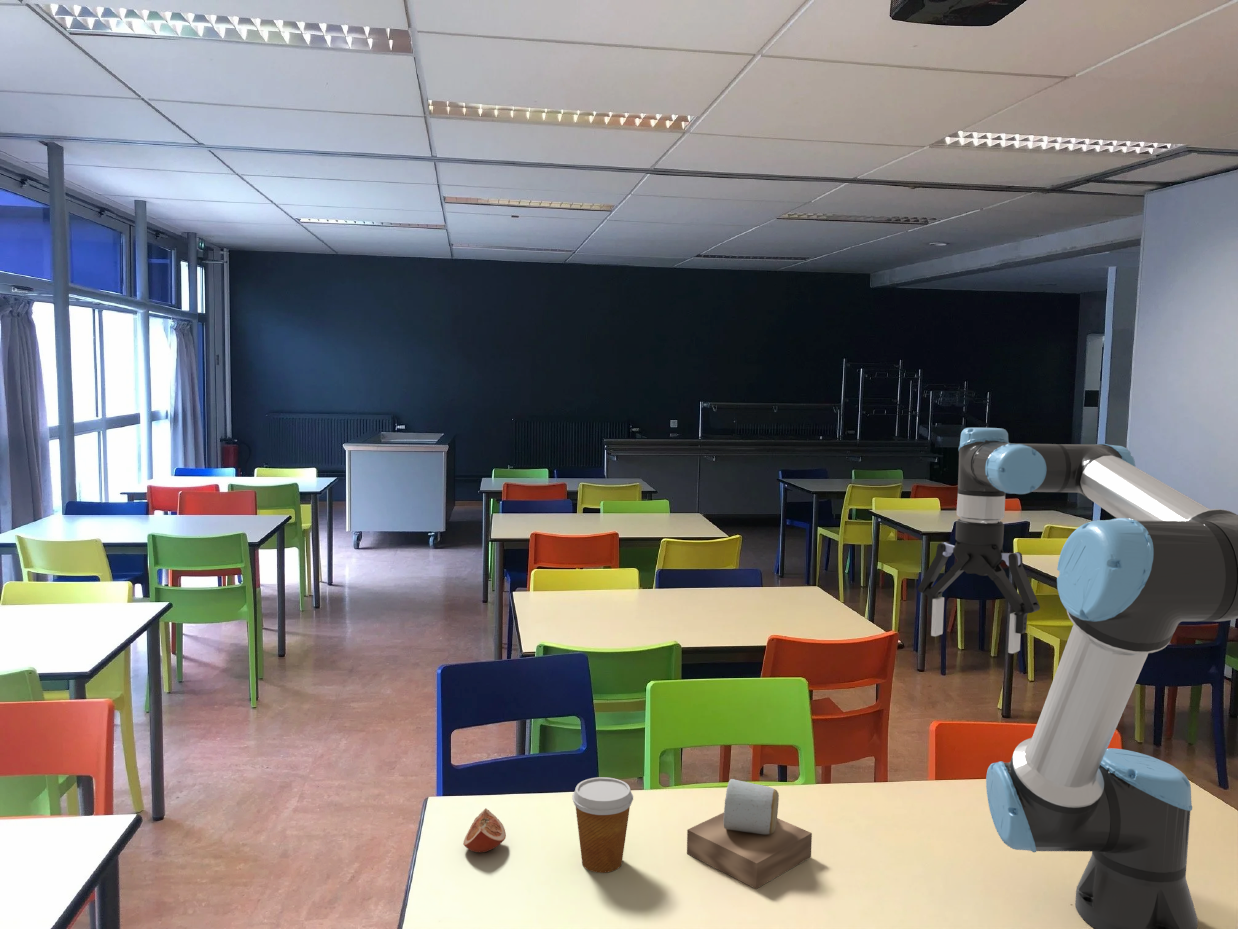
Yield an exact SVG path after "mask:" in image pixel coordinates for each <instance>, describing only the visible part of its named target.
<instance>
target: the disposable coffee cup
mask: <svg viewBox="0 0 1238 929" xmlns="http://www.w3.org/2000/svg"><path fill="white" fill-rule="evenodd" d="M571 798H572V802H573V803H574V806H575V813H576V821H577V830H578V831H577V832H578V837H579V838H578V839H579V840H578V841H579V847H580V857H581V864H582V866H583V867H584V868H585V869H586V870H587V871H590V872H594V873H600V874H601V873H603V874H604V873H610V872H611V873H612V872H614V871H616V870H619V869H620V868H621V866H622V864H623V859H624V858H623V857H624V852H625V842H626V835H627V830H628V829H627V828H628V823H629V816H630V807H631V805H632V803H633V801H634V794H633V792H632V791H631V787H630V785H629V784H628V783H627V782H625V781H623V780H620V779H617V778H613V777H606V776H605V777H604V776H603V777H601V776H599V777H598V776H597V777H591V778H587V779H585V780H582V781H580V782H579V783H577V785H576V787H575V790H574V792H573V793H572V797H571Z"/></svg>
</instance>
